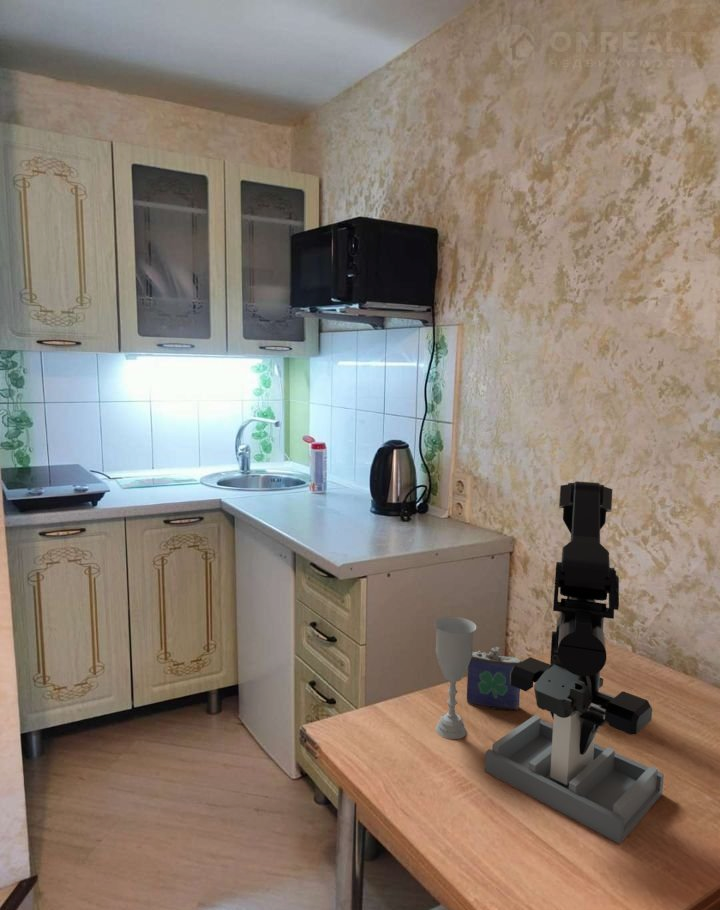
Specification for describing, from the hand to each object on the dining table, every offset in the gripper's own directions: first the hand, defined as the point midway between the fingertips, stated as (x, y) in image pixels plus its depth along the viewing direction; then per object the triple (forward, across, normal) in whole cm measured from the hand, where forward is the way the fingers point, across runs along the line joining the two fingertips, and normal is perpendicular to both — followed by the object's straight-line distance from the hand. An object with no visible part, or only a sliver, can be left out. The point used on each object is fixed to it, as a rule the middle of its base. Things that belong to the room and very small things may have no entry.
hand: (573, 749), depth 89 cm
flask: (+5, -20, +10) cm, 23 cm away
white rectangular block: (+3, 0, 0) cm, 3 cm away
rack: (+5, 0, 0) cm, 5 cm away
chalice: (+5, -20, -2) cm, 21 cm away
